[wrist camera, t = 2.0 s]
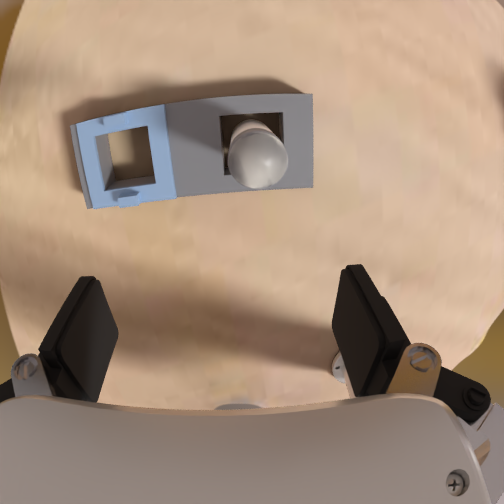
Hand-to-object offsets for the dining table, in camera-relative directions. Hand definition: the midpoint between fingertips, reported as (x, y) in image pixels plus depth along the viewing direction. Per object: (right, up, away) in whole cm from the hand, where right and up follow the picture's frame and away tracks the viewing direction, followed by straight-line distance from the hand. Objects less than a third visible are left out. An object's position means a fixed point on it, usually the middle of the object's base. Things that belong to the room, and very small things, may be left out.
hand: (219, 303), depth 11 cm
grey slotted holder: (-5, +13, +17) cm, 22 cm away
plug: (+1, +13, +17) cm, 22 cm away
